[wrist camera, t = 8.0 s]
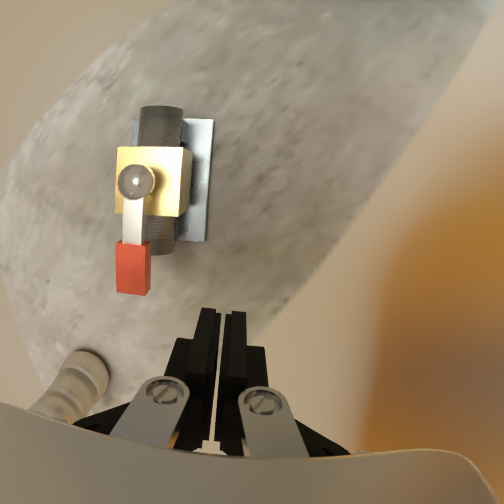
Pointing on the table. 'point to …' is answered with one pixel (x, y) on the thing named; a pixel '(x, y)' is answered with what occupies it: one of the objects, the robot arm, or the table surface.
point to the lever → (134, 231)
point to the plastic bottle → (74, 388)
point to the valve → (171, 174)
